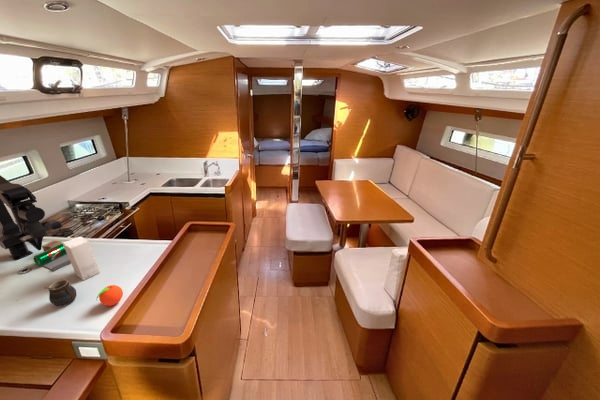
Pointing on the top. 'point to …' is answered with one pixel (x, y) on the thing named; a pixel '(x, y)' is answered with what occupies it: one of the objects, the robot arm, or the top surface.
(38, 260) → the soda can
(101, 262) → the top surface
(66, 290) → the mate gourd
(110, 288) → the clementine
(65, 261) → the tray
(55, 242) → the walnut block
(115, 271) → the top surface
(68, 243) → the skincare box
